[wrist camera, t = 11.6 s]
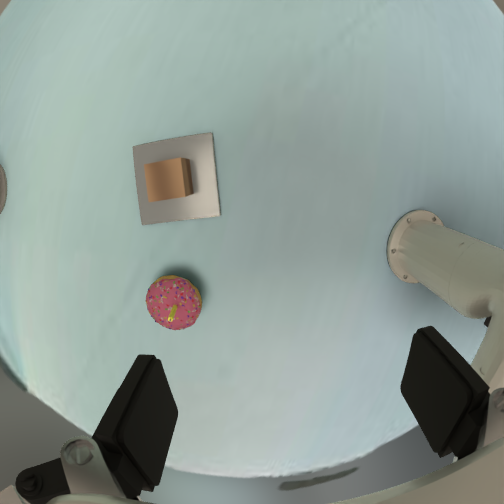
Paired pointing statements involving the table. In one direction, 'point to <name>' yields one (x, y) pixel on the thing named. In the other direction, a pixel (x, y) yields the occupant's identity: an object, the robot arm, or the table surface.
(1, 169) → the mate gourd
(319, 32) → the table surface
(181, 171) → the walnut cube
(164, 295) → the cupcake
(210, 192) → the slate coaster
